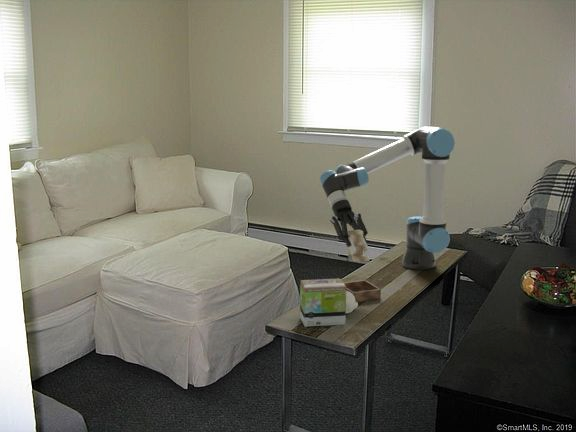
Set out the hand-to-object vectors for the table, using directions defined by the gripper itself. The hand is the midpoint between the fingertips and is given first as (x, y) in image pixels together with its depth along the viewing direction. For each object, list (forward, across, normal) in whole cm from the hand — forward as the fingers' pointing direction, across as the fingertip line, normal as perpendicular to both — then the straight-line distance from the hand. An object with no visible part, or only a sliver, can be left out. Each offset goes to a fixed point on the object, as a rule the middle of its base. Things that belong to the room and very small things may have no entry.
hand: (360, 251), depth 259 cm
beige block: (+1, 0, -3) cm, 4 cm away
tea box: (+25, +26, -2) cm, 36 cm away
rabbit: (+21, +16, -6) cm, 27 cm away
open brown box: (+12, 0, -14) cm, 19 cm away
